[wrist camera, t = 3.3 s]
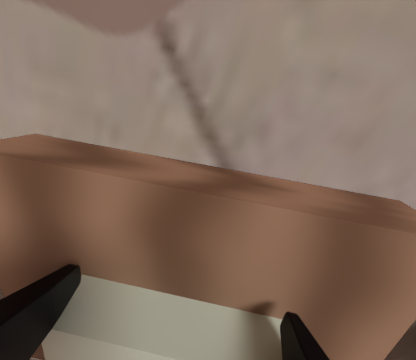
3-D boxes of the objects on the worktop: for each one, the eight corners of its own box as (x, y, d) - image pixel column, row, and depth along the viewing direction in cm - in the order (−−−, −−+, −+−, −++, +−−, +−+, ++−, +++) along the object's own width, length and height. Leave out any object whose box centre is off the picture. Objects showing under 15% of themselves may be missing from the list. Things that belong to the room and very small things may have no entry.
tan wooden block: (400, 201, 11) (474, 245, 7) (309, 361, 16) (328, 428, 12) (35, 133, 12) (-43, 146, 8) (62, 305, 17) (21, 354, 13)
